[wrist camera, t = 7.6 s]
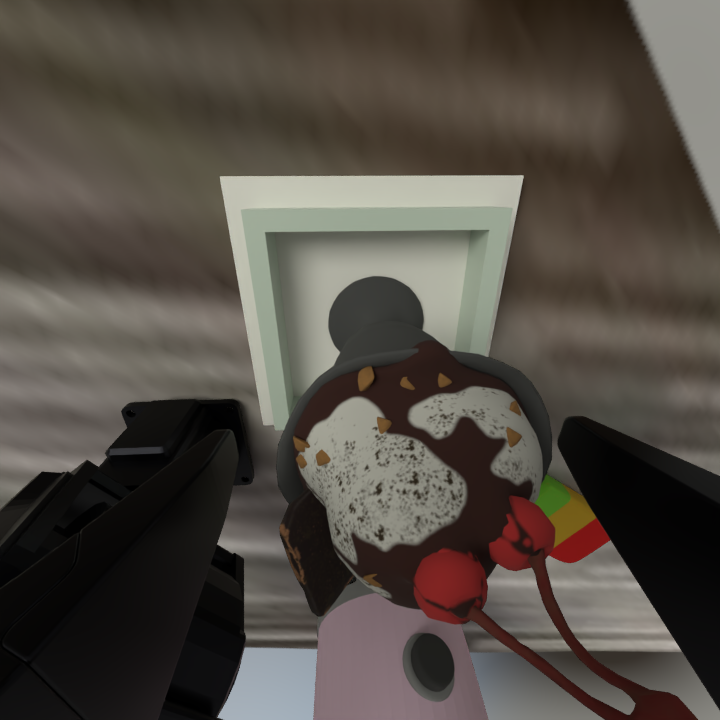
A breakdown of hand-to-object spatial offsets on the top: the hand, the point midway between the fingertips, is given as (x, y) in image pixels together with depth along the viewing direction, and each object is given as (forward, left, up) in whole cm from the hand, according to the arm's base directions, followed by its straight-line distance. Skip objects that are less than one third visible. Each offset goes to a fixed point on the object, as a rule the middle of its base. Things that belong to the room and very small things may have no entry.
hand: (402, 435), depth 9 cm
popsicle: (-15, -12, -10) cm, 22 cm away
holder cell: (0, 0, -10) cm, 10 cm away
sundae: (0, 0, -9) cm, 9 cm away
